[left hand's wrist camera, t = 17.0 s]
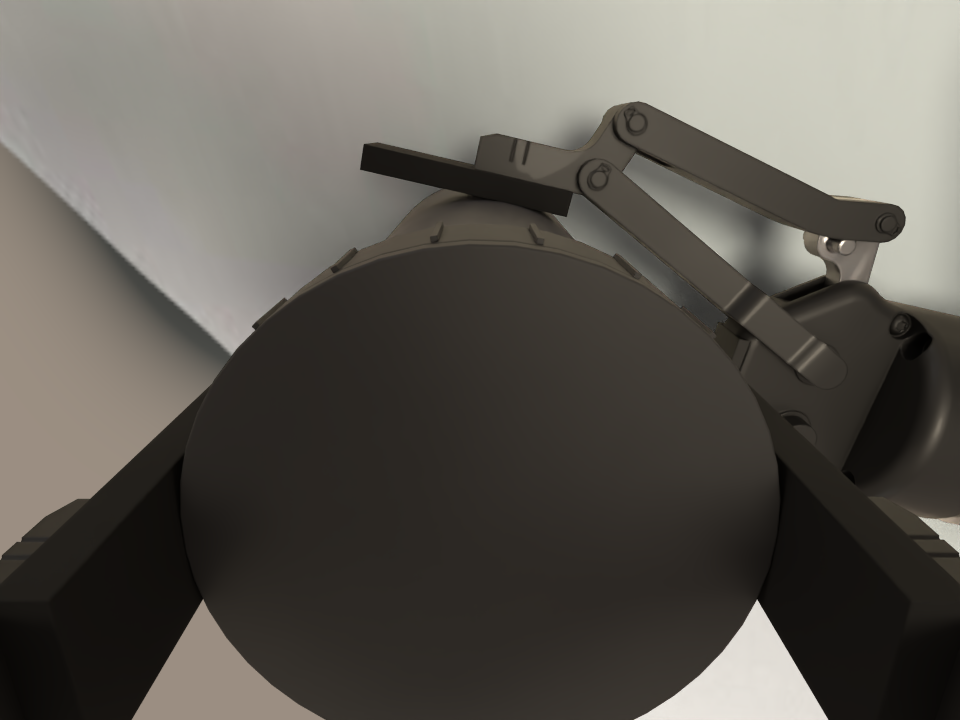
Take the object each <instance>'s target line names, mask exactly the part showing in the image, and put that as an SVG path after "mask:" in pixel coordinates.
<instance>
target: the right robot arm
mask: <svg viewBox="0 0 960 720" xmlns="http://www.w3.org/2000/svg"><path fill="white" fill-rule="evenodd" d="M635 153H636V154H638V155H640V156H642V157H644V158H646V159H648V160H650V161H652V162H654V163H656V164H658V165H660V166H663V167H665V168H667V169H669V170H671V171H673V172H675V173H677V174H679V175H681V176H683V177H685V178H687V179H689V180H691V181H693V182H695V183H697V184H699V185H701V186H704V187H706V188H708V189H710V190H712V191H714V192H716V193H718V194H720V195H722V196H724V197H726V198H728V199H730V200H732V201H734V202H736V203H738V204H740V205H742V206H745V207H747V208H749V209H751V210H753V211H755V212H757V213H759V214H761V215H763V216H765V217H767V218H769V219H771V220H774V221H776V222H779V223H781V224H784V225H787V226H790V227H794V228H797V229H800V230H803V231H805V232H804V234H803V239H804V245H805V248H806V250H807V251H808V252H809V253H810V254H812V255H815V256H818V257H820V258H821V259H822V260H823V261H824V263H825V264H826V269H827V270H826V275H823V276H820V277H818V278H815V279H813V280H810V281H808V282H805V283H803V284H800V285H797V286H795V287H792V288H790V289H787V290H785V291H782V292H780V293H777V294H775V295H772V296H770V297H769V296H768V295H766V294H765V293H764V292H763V291H761V290H760V289H758V288H757V287H756V286H754V285H753V284H752V283H750V282H749V281H748V280H747V279H746V278H745V277H743V276H742V275H741V274H740V273H739V272H738V271H736V270H735V269H734V268H733V267H732V266H731V265H729V264H728V263H727V262H726V261H725V260H724V259H722V258H721V257H720V256H719V255H718V254H717V253H715V252H714V251H713V250H712V249H711V248H710V247H708V246H707V245H706V244H705V243H704V242H703V241H702V240H700V239H699V238H698V237H697V236H696V235H695V234H693V233H692V232H691V231H690V230H689V229H688V228H686V227H685V226H684V225H683V224H682V223H681V222H679V221H678V220H677V219H676V218H675V217H674V216H672V215H671V214H670V213H669V212H668V211H667V210H665V209H664V208H663V207H662V206H661V205H660V204H658V203H657V202H656V201H655V200H654V199H653V198H651V197H650V196H649V195H648V194H647V193H646V192H644V191H643V190H642V189H641V188H640V187H639V186H637V185H636V184H635V183H634V182H633V181H632V180H630V179H629V178H628V177H627V176H626V175H625V174H623V173H622V171H623V170H624V169H625V167H626V166H627V164H628V163H629V161H630V160H631V158H632V157H633V155H634V154H635ZM360 170H364V171H369V172H373V173H377V174H382V175H386V176H390V177H395V178H399V179H403V180H408V181H412V182H417V183H421V184H425V185H430V186H434V187H438V188H443V189H447V190H451V191H456V192H460V193H465V194H469V195H473V196H478V197H482V198H486V199H491V200H495V201H499V202H504V203H508V204H513V205H517V206H521V207H526V208H530V209H534V210H539V211H543V212H547V213H552V214H556V215H561V216H565V217H567V213H568V209H569V206H570V202H571V198H572V194H573V193H575V194H580V195H583V196H584V197H585V198H587V199H588V200H589V201H590V202H591V203H593V204H594V205H595V206H596V207H597V208H599V209H600V210H601V211H602V212H603V213H605V214H606V215H607V216H608V217H609V218H611V219H612V220H613V221H614V222H615V223H617V224H618V225H619V226H620V227H621V228H623V229H624V230H625V231H626V232H627V233H629V234H630V235H631V236H632V237H633V238H635V239H636V240H637V241H638V242H639V243H641V244H642V245H643V246H644V247H645V248H647V249H648V250H649V251H650V252H651V253H653V254H654V255H655V256H656V257H657V258H659V259H660V260H661V261H662V262H663V263H665V264H666V265H667V266H668V267H669V268H671V269H672V270H673V271H674V272H675V273H677V274H678V275H679V276H680V277H681V278H683V279H684V280H685V281H686V282H687V283H689V284H690V285H691V286H692V287H693V288H695V289H696V290H697V291H698V292H699V293H701V294H702V295H703V296H704V297H705V298H706V299H707V300H709V301H710V302H711V303H712V304H713V305H715V306H716V307H717V308H718V309H719V310H721V311H722V312H723V313H724V314H725V315H727V316H728V317H729V318H728V319H727V320H726V322H725V323H721V322H718V325H717V327H716V330H715V335H716V336H717V337H715V338H714V340H715V341H716V342H717V344H718V345H719V346H720V347H721V348H722V349H723V351H724V352H725V353H726V354H727V355H728V357H729V358H730V359H731V360H732V361H733V362H734V364H735V365H736V366H737V368H738V370H739V371H740V373H741V374H742V376H743V378H744V379H745V381H746V382H747V383H748V384H749V385H750V386H751V387H752V388H753V389H754V390H755V391H756V392H757V393H758V394H759V395H760V396H761V397H762V398H764V399H765V400H766V401H767V402H768V403H769V404H770V405H771V406H772V407H773V408H774V409H775V410H776V411H777V412H778V413H779V414H780V415H781V416H783V417H784V418H785V419H786V420H787V421H788V422H789V423H790V424H791V425H792V426H793V427H794V428H795V429H796V430H797V431H798V432H799V433H801V434H802V435H803V436H804V437H805V438H806V439H807V440H808V441H809V442H810V443H811V444H812V445H813V446H814V447H815V448H816V449H817V450H819V451H820V452H821V453H822V454H823V455H824V456H825V457H826V458H827V459H828V460H829V461H830V462H831V463H832V464H833V465H834V466H835V467H837V468H838V469H839V470H840V471H841V472H842V473H843V474H844V475H845V476H846V477H847V478H848V479H849V480H850V481H851V482H852V483H853V484H855V485H856V486H857V487H858V488H859V489H860V490H861V491H862V492H863V493H864V494H865V495H866V496H867V497H884V498H886V499H888V500H890V501H891V502H893V503H895V504H897V505H899V506H901V507H902V508H904V509H906V510H908V511H910V512H912V513H913V514H915V515H916V516H918V517H923V518H931V519H939V520H941V521H943V522H947V523H952V524H957V525H960V317H959V316H955V315H950V314H946V313H941V312H937V311H933V310H928V309H924V308H919V307H915V306H911V305H906V304H902V303H897V302H893V301H889V300H885V299H884V298H883V297H881V296H880V294H879V293H878V292H877V291H876V290H875V289H874V288H873V287H872V286H870V285H869V284H868V281H869V278H870V274H871V271H872V267H873V264H874V260H875V257H876V253H877V250H878V246H879V243H882V242H889V241H891V240H893V239H895V238H896V237H897V236H898V235H899V234H900V233H901V232H902V230H903V228H904V226H905V219H906V217H905V214H904V211H903V210H902V209H901V208H900V207H899V206H896V205H893V204H888V203H882V202H877V201H871V200H866V199H860V198H854V197H848V196H835V195H828V194H826V193H824V192H822V191H820V190H818V189H816V188H814V187H812V186H810V185H808V184H806V183H804V182H802V181H800V180H798V179H796V178H794V177H792V176H790V175H788V174H786V173H784V172H782V171H780V170H778V169H776V168H774V167H772V166H770V165H768V164H766V163H764V162H762V161H760V160H758V159H756V158H754V157H752V156H750V155H748V154H746V153H744V152H742V151H740V150H738V149H736V148H734V147H732V146H730V145H728V144H726V143H724V142H722V141H720V140H718V139H716V138H714V137H712V136H710V135H708V134H706V133H704V132H702V131H700V130H698V129H696V128H694V127H692V126H690V125H688V124H686V123H684V122H682V121H680V120H678V119H676V118H674V117H672V116H670V115H668V114H666V113H664V112H662V111H660V110H658V109H656V108H654V107H652V106H650V105H648V104H646V103H643V102H639V101H638V102H631V103H625V104H621V105H617V106H613V107H612V108H610V109H609V110H608V111H607V112H606V113H605V115H604V116H603V120H602V123H601V124H600V126H599V127H598V129H597V130H596V132H595V133H594V135H593V136H592V138H591V139H590V140H589V142H588V143H587V144H586V145H584V146H583V147H581V148H579V149H577V150H564V149H560V148H555V147H551V146H547V145H543V144H539V143H534V142H530V141H526V140H522V139H517V138H513V137H509V136H505V135H501V134H492V135H486V136H481V137H480V141H479V146H478V151H477V156H476V160H475V165H472V164H468V163H464V162H459V161H455V160H451V159H446V158H442V157H438V156H433V155H429V154H425V153H421V152H416V151H412V150H408V149H403V148H399V147H395V146H391V145H386V144H382V143H369V144H364V147H363V153H362V160H361V167H360Z"/></svg>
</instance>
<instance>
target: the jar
mask: <svg viewBox="0 0 960 720" xmlns="http://www.w3.org/2000/svg"><path fill="white" fill-rule="evenodd" d="M437 222H443V225H444V226H453V225H463V224H492V225H512V226H517V227H523V228H529V225H530V224H536V226H537V227H538V229H539V230H541V231H547V232H550V233H553V234H556V235H560V236H563V237H566V238H569V239H572V240H574V239H573V238H572V236H571V235H570V234H569V233H568V232H567V231H566V229H565V228H564V227H563V226H562V225H561V224H560V222H559V221H558V220H557V219H556V218H555V217H554V216H553V214H552V213H547V212H543V211H539V210H534V209H530V208H526V207H521V206H517V205H513V204H508V203H504V202H499V201H495V200H491V199H486V198H482V197H478V196H473V195H469V194H465V193H460V192H456V191H451V190H447V189H442V190H440V191H438V192H435V193H433V194H432V195H430V196H429V197H427V198H426V199H424V200H423V201H421V202H420V203H419V204H418V205H417V206H416V207H414V208H413V209H412V210H411V212H410V213H409V214H408V215H407V216H406V217H405V218H404V219H403V221H402V222H401V223H400V224H399V225H398V226H397V227H396V229H395V230H394V231H393V232H392V233H391V234H390V236H389V237H388V238H387V239H386V240H388V239H390V238H393V237H395V236H399V235H403V234H407V233H412V232H416V231H420V230H424V229H429V228H433V227H435V225H436V223H437Z"/></svg>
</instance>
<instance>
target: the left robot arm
mask: <svg viewBox="0 0 960 720" xmlns="http://www.w3.org/2000/svg"><path fill="white" fill-rule="evenodd" d="M746 383H747V382H746ZM747 384H748V383H747ZM211 385H212V384H211ZM211 385H210V386H209V387H208V388H207V389H206V390H205V391H204V392H203V393H202V394H201V395H200V396H199V397H198V398H197V399H196V400H195V401H193V402H192V403H191V404H190V405H189V406H188V407H187V408H186V409H185V410H184V411H183V412H182V413H181V414H180V415H179V416H178V417H176V418H175V419H174V420H173V421H172V422H171V423H170V424H169V425H168V426H167V427H166V428H165V429H164V430H163V431H162V432H161V433H160V434H158V435H157V436H156V437H155V438H154V439H153V440H152V441H151V442H150V443H149V444H148V445H147V446H146V447H145V448H144V449H143V450H142V451H140V452H139V453H138V454H137V455H136V456H135V457H134V458H133V459H132V460H131V461H130V462H129V463H128V464H127V465H126V466H125V467H124V468H123V469H121V470H120V471H119V472H118V473H117V474H116V475H115V476H114V477H113V478H112V479H111V480H110V481H109V482H108V483H107V484H106V485H105V486H103V487H102V488H101V489H100V490H99V491H98V492H97V493H96V494H95V495H94V496H93V497H92V498H91V499H77V500H75V501H73V502H71V503H70V504H68V505H66V506H64V507H62V508H60V509H59V510H57V511H55V512H53V513H51V514H50V515H48V516H46V517H45V518H43V519H42V520H41V521H40V522H39V523H38V524H37V525H36V526H35V527H33V528H32V529H31V530H30V531H29V532H28V533H27V534H25V535H24V536H23V537H22V541H21V542H16V543H15V544H14V545H13V546H12V547H11V548H10V549H9V550H7V551H6V552H5V553H4V554H3V555H2V559H1V560H0V720H132V718H133V716H134V715H135V713H136V711H137V710H138V708H139V706H140V704H141V703H142V701H143V700H144V698H145V696H146V694H147V693H148V691H149V689H150V688H151V686H152V684H153V683H154V681H155V679H156V677H157V676H158V674H159V672H160V671H161V669H162V667H163V666H164V664H165V662H166V661H167V659H168V657H169V656H170V654H171V652H172V651H173V649H174V647H175V645H176V644H177V642H178V640H179V639H180V637H181V635H182V634H183V632H184V630H185V629H186V627H187V625H188V623H189V622H190V620H191V618H192V617H193V615H194V613H195V612H196V610H197V608H198V607H199V605H200V603H201V601H202V600H203V597H202V595H201V593H200V591H199V589H198V587H197V585H196V582H195V580H194V577H193V574H192V570H191V567H190V564H189V561H188V557H187V554H186V551H185V546H184V539H183V533H182V526H181V519H180V480H181V474H182V468H183V461H184V455H185V449H186V445H187V442H188V439H189V436H190V433H191V430H192V427H193V424H194V421H195V418H196V415H197V412H198V410H199V408H200V406H201V404H202V403H203V401H204V398H205V396H206V395H207V393H208V391H209V389H210V387H211ZM748 386H749V387H750V389H751V391H752V392H753V394H754V396H755V397H756V400H757V402H758V404H759V407H760V409H761V412H762V414H763V416H764V419H765V421H766V424H767V426H768V429H769V431H770V435H771V439H772V443H773V447H774V452H775V456H776V460H777V464H778V474H779V487H780V514H779V526H778V536H777V540H776V544H775V549H774V553H773V557H772V561H771V566H770V569H769V571H768V574H767V576H766V579H765V581H764V584H763V586H762V589H761V591H760V594H759V596H758V598H757V600H758V601H759V603H760V605H761V606H762V608H763V610H764V612H765V613H766V615H767V617H768V618H769V620H770V622H771V623H772V625H773V627H774V628H775V630H776V632H777V634H778V635H779V637H780V639H781V640H782V642H783V644H784V645H785V647H786V649H787V650H788V652H789V654H790V655H791V657H792V659H793V661H794V662H795V664H796V666H797V667H798V669H799V671H800V672H801V674H802V676H803V677H804V679H805V681H806V683H807V684H808V686H809V688H810V689H811V691H812V693H813V694H814V696H815V698H816V699H817V701H818V703H819V705H820V706H821V708H822V710H823V711H824V713H825V715H826V716H827V718H828V720H960V557H959V553H958V552H957V551H956V550H955V549H954V548H953V547H952V546H950V545H949V544H948V543H947V542H946V541H945V540H940V539H939V535H938V534H937V533H936V532H935V531H933V530H932V529H931V528H930V527H929V526H928V525H927V524H925V523H924V522H923V521H922V520H921V519H920V518H919V517H918V516H916V515H915V514H913V513H912V512H910V511H908V510H906V509H904V508H902V507H901V506H899V505H897V504H895V503H893V502H891V501H890V500H888V499H886V498H884V497H867V496H866V495H865V494H864V493H863V492H862V491H861V490H860V489H859V488H858V487H857V486H856V485H855V484H853V483H852V482H851V481H850V480H849V479H848V478H847V477H846V476H845V475H844V474H843V473H842V472H841V471H840V470H839V469H838V468H837V467H835V466H834V465H833V464H832V463H831V462H830V461H829V460H828V459H827V458H826V457H825V456H824V455H823V454H822V453H821V452H820V451H819V450H817V449H816V448H815V447H814V446H813V445H812V444H811V443H810V442H809V441H808V440H807V439H806V438H805V437H804V436H803V435H802V434H801V433H799V432H798V431H797V430H796V429H795V428H794V427H793V426H792V425H791V424H790V423H789V422H788V421H787V420H786V419H785V418H784V417H783V416H781V415H780V414H779V413H778V412H777V411H776V410H775V409H774V408H773V407H772V406H771V405H770V404H769V403H768V402H767V401H766V400H765V399H764V398H762V397H761V396H760V395H759V394H758V393H757V392H756V391H755V390H754V389H753V388H752V387H751V386H750V385H749V384H748Z"/></svg>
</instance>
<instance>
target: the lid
mask: <svg viewBox="0 0 960 720" xmlns="http://www.w3.org/2000/svg"><path fill="white" fill-rule="evenodd" d="M252 327H253V328H254V329H255V331H254V332H253V333H252V334H251V335H250V336H249V337H248V338H247V339H246V340H245V341H244V342H243V343H242V344H241V345H240V346H239V347H238V348H237V349H236V351H235V352H234V354H233V355H232V356H231V358H230V359H229V360H228V362H227V363H226V364H225V366H224V367H223V369H222V370H221V371H220V373H219V374H218V375H217V377H216V378H215V380H214V381H213V383H212V385H211V387H210V389H209V391H208V393H207V395H206V396H205V398H204V401H203V403H202V404H201V406H200V408H199V410H198V412H197V415H196V418H195V421H194V424H193V427H192V430H191V433H190V436H189V439H188V442H187V445H186V449H185V455H184V461H183V468H182V474H181V480H180V519H181V526H182V533H183V539H184V546H185V551H186V554H187V557H188V561H189V564H190V567H191V570H192V574H193V577H194V580H195V582H196V585H197V587H198V589H199V591H200V593H201V595H202V597H203V599H204V602H205V604H206V606H207V608H208V610H209V612H210V613H211V615H212V616H213V618H214V619H215V621H216V622H217V624H218V625H219V627H220V629H221V630H222V631H223V633H224V635H225V636H226V638H227V639H228V640H229V641H230V642H231V644H232V645H233V646H234V647H235V648H236V649H237V651H238V652H239V653H240V654H241V655H242V657H243V658H244V659H245V660H246V661H247V662H248V663H249V664H250V665H251V666H252V667H253V668H254V669H255V670H256V671H257V672H258V673H260V674H261V675H262V676H263V677H264V678H265V679H266V680H267V681H268V682H269V683H270V684H271V685H273V686H274V687H276V688H277V689H278V690H280V691H281V692H282V693H284V694H285V695H287V696H288V697H289V698H291V699H292V700H293V701H295V702H296V703H298V704H299V705H301V706H303V707H304V708H306V709H308V710H310V711H311V712H313V713H315V714H317V715H318V716H320V717H322V718H324V719H325V720H634V719H636V718H638V717H640V716H642V715H644V714H646V713H648V712H649V711H651V710H652V709H654V708H656V707H657V706H659V705H660V704H662V703H663V702H665V701H667V700H668V699H670V698H671V697H673V696H674V695H676V694H677V693H678V692H679V691H680V690H682V689H683V688H684V687H685V686H687V685H688V684H689V683H690V682H692V681H693V680H694V679H695V678H697V677H698V676H699V675H700V674H701V673H702V672H703V671H704V670H705V669H706V668H707V667H708V666H709V665H710V664H711V663H712V662H713V661H714V660H715V659H716V658H717V657H718V656H719V655H720V654H721V653H722V651H723V650H724V649H725V648H726V646H727V645H728V644H729V642H730V641H731V640H732V638H733V637H734V636H735V634H736V633H737V632H738V630H739V629H740V628H741V626H742V625H743V623H744V621H745V620H746V618H747V616H748V614H749V613H750V611H751V609H752V607H753V605H754V604H755V602H756V600H757V598H758V596H759V594H760V591H761V589H762V586H763V584H764V581H765V579H766V576H767V574H768V571H769V569H770V566H771V561H772V557H773V553H774V549H775V544H776V540H777V536H778V526H779V514H780V487H779V474H778V464H777V460H776V456H775V452H774V447H773V443H772V439H771V435H770V431H769V429H768V426H767V424H766V421H765V419H764V416H763V414H762V412H761V409H760V407H759V404H758V402H757V400H756V397H755V396H754V394H753V392H752V391H751V389H750V387H749V386H748V384H747V383H746V381H745V379H744V378H743V376H742V374H741V373H740V371H739V370H738V368H737V366H736V365H735V364H734V362H733V361H732V360H731V359H730V358H729V357H728V355H727V354H726V353H725V352H724V351H723V349H722V348H721V347H720V346H719V345H718V344H717V342H716V341H715V340H714V338H715V337H717V336H716V335H715V333H714V332H713V331H712V330H710V329H709V328H708V327H707V326H706V325H705V324H704V323H702V322H701V321H700V320H699V319H698V318H697V317H695V316H694V315H693V314H692V313H691V312H690V311H688V310H687V309H686V308H685V307H684V306H683V307H682V308H681V309H680V308H679V307H678V306H677V305H676V304H675V303H674V302H673V301H671V300H670V299H669V298H668V297H667V296H666V295H665V294H663V293H662V292H661V291H660V290H659V289H658V288H657V287H655V286H654V285H653V284H652V283H651V282H650V281H649V280H647V279H646V278H645V277H644V276H642V274H641V273H640V272H638V271H637V270H636V269H635V268H634V267H633V266H632V265H631V264H629V263H628V262H627V261H626V260H625V259H624V258H623V257H622V256H620V255H618V254H617V253H616V254H615V255H614V257H612V256H610V255H608V254H606V253H603V252H601V251H599V250H597V249H595V248H593V247H591V246H588V245H586V244H584V243H582V242H579V241H576V240H572V239H569V238H566V237H563V236H560V235H556V234H553V233H550V232H547V231H541V230H539V229H538V227H537V226H536V224H530V225H529V228H523V227H517V226H512V225H492V224H463V225H453V226H444V225H443V222H437V223H436V225H435V227H433V228H429V229H424V230H420V231H416V232H412V233H407V234H403V235H399V236H395V237H393V238H390V239H388V240H385V241H382V242H380V243H377V244H374V245H372V246H369V247H367V248H364V249H362V250H360V251H358V252H357V250H356V248H353V249H351V250H349V251H348V252H347V253H346V254H345V255H344V256H343V257H342V258H341V259H340V260H338V261H337V262H336V263H335V264H334V265H332V266H331V267H329V268H328V269H327V270H325V271H324V272H323V273H321V274H320V275H319V276H317V277H316V278H315V279H313V280H312V281H311V282H309V283H308V284H307V285H305V286H304V287H303V288H301V289H300V290H299V291H298V292H297V293H296V294H295V295H293V296H292V297H291V298H290V299H289V300H286V299H285V298H284V299H282V300H281V301H280V302H279V303H278V304H276V305H275V306H274V307H273V308H272V309H271V310H269V311H268V312H267V313H266V314H265V315H264V316H262V317H261V318H260V319H259V320H258V321H257V322H255V323H254V325H253V326H252Z"/></svg>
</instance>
